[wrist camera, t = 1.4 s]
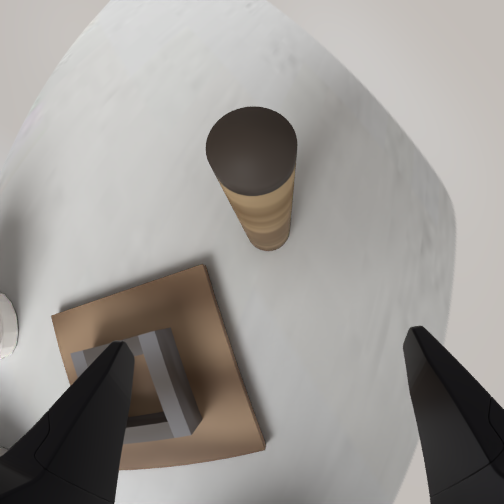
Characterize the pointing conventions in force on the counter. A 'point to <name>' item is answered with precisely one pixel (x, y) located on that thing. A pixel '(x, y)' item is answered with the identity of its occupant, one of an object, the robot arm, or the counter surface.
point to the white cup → (7, 327)
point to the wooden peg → (256, 171)
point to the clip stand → (168, 370)
